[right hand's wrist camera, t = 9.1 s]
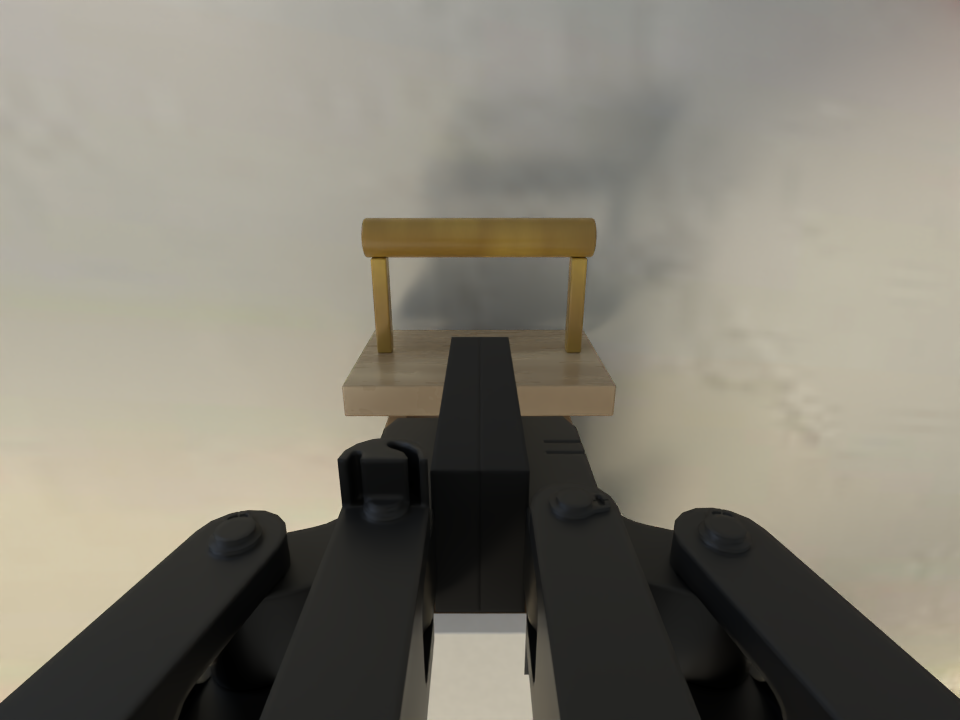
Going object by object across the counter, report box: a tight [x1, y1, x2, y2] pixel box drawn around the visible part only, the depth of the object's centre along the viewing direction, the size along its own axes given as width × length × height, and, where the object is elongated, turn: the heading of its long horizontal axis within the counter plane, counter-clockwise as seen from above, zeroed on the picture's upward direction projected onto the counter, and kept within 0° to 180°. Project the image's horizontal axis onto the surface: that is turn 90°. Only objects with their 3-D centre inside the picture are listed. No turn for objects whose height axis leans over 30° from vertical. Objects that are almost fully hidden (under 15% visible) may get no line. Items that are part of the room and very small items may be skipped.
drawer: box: [342, 218, 616, 614], centre depth 25 cm, size 24×10×6 cm, turn 0°
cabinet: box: [427, 613, 533, 720], centre depth 29 cm, size 20×11×8 cm, turn 0°
